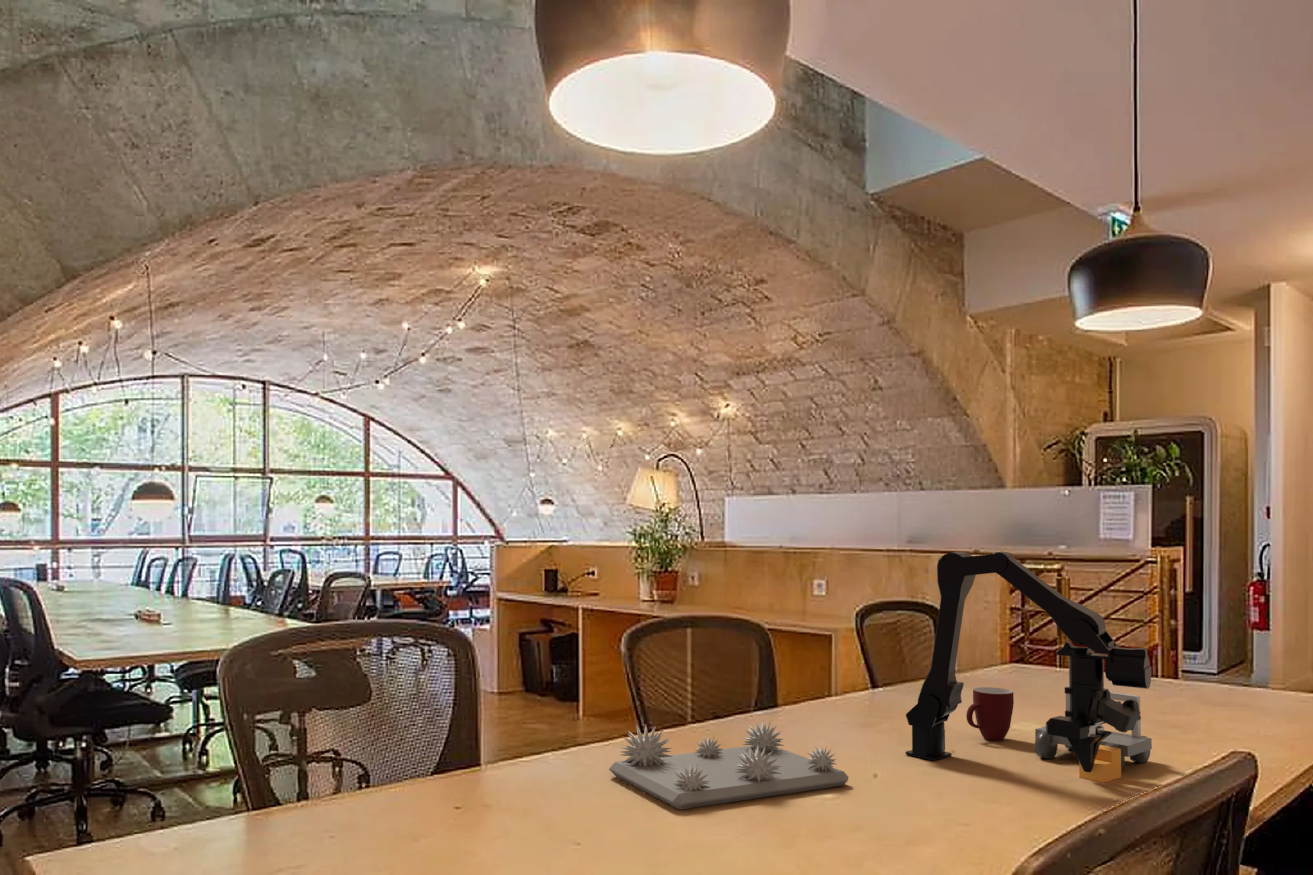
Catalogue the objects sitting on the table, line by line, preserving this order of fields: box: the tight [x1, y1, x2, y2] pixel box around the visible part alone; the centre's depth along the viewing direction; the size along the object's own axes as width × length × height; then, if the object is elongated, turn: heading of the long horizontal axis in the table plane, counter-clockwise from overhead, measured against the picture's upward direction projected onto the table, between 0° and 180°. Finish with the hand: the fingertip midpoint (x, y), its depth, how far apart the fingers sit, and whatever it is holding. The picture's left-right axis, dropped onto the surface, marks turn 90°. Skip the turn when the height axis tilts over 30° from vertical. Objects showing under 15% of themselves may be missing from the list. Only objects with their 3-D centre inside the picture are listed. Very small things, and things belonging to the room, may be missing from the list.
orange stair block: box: [1078, 745, 1122, 784], centre depth 185 cm, size 6×4×5 cm
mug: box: [965, 686, 1015, 742], centre depth 214 cm, size 10×8×10 cm
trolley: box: [1034, 685, 1152, 771], centre depth 197 cm, size 16×18×13 cm
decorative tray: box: [608, 720, 849, 810], centre depth 179 cm, size 35×26×10 cm
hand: (1087, 771), depth 182 cm, fingers closed
